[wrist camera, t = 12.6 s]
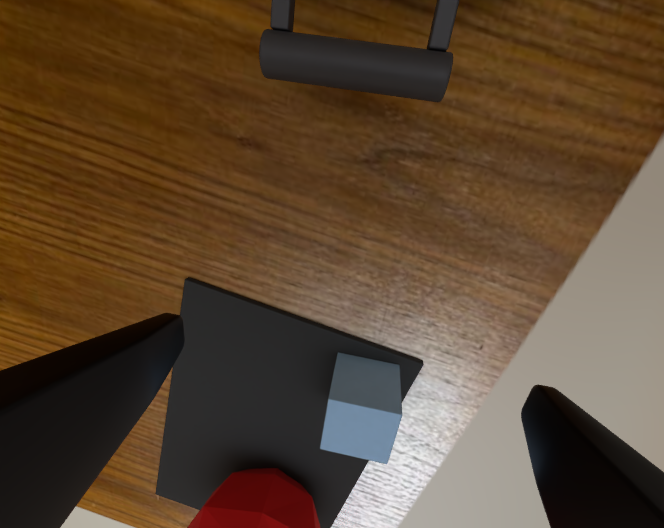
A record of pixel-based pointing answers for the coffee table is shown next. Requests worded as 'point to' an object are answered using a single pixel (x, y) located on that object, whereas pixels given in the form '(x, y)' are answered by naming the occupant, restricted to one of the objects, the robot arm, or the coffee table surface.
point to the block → (363, 408)
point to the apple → (258, 502)
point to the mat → (257, 399)
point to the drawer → (359, 58)
